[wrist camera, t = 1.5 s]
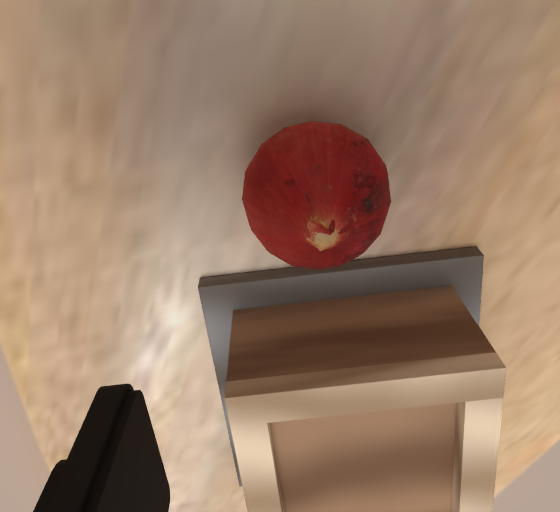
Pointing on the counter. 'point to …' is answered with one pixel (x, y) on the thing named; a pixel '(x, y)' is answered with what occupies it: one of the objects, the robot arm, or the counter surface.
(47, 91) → the counter surface
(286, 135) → the pomegranate
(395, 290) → the open square box
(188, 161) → the counter surface
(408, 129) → the counter surface
